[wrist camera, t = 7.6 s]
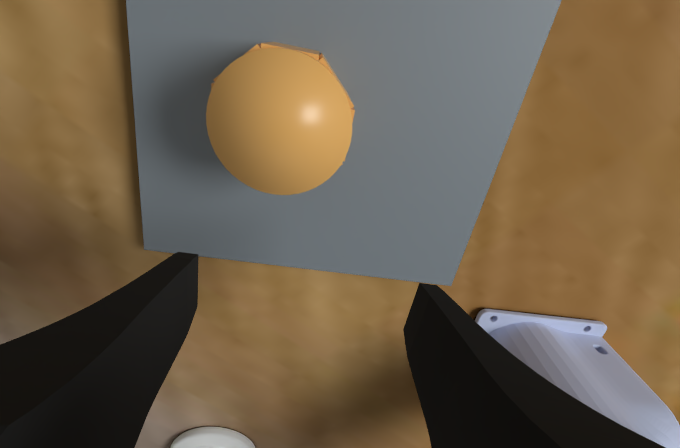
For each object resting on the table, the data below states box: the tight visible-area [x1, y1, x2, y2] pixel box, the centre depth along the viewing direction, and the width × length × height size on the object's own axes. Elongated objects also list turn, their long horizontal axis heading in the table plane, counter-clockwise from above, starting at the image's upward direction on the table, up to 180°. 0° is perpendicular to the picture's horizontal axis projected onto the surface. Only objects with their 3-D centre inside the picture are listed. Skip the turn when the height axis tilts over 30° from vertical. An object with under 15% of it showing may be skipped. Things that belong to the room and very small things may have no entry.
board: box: [126, 0, 561, 286], centre depth 18 cm, size 18×16×1 cm
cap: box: [206, 42, 355, 195], centre depth 15 cm, size 5×5×4 cm
